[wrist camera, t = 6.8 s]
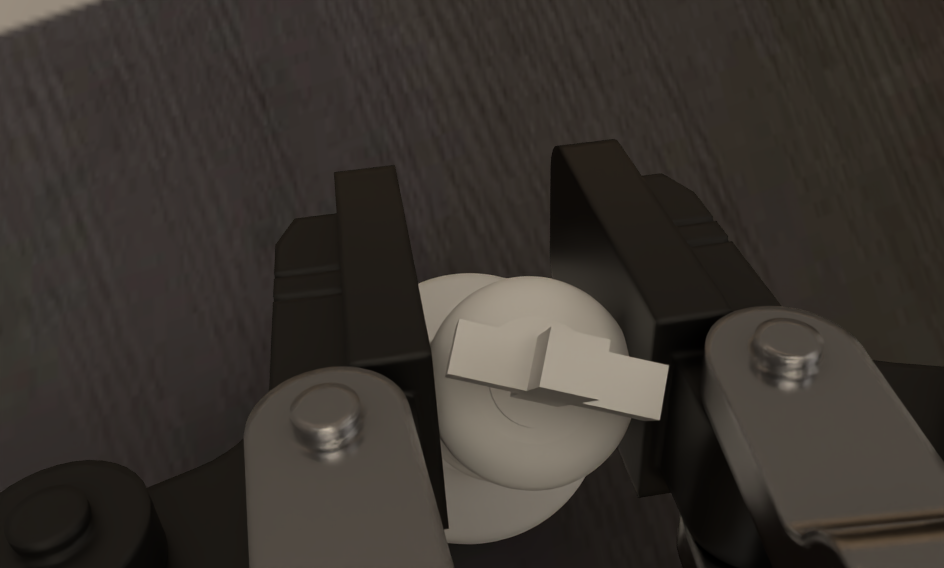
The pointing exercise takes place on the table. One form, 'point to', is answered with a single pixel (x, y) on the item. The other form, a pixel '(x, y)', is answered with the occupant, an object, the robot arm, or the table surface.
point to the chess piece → (526, 396)
